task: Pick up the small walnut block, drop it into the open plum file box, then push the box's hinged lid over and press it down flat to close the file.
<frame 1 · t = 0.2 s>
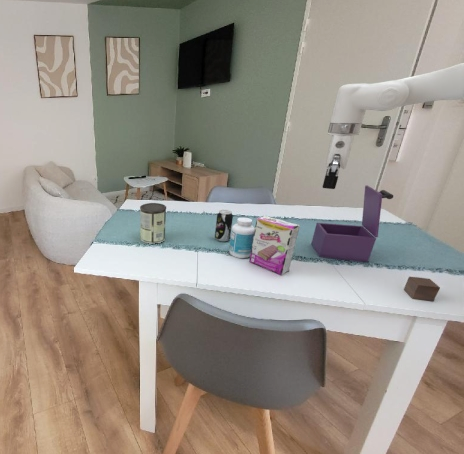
hand: (329, 184, 94), 25 cm above the table, tool pointing down, fingers open, 9 cm apart
file box: (337, 252, 103), on the table
candy bar box: (268, 267, 97), on the table
block: (418, 295, 80), on the table
pill bottle: (239, 254, 105), on the table
beverage can: (222, 239, 117), on the table
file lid: (378, 210, 94), point 17 cm above the table, hinge at 80.0°
coffee can: (152, 239, 121), on the table
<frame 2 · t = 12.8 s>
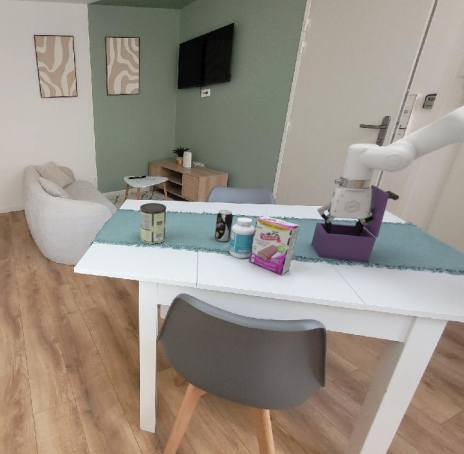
hand: (341, 232, 100), 8 cm above the table, tool pointing down, fingers open, 7 cm apart
block: (333, 250, 103), point 1 cm above the table, touching file box
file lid: (381, 210, 94), point 16 cm above the table, hinge at 86.7°, touching gripper
everything else where it was.
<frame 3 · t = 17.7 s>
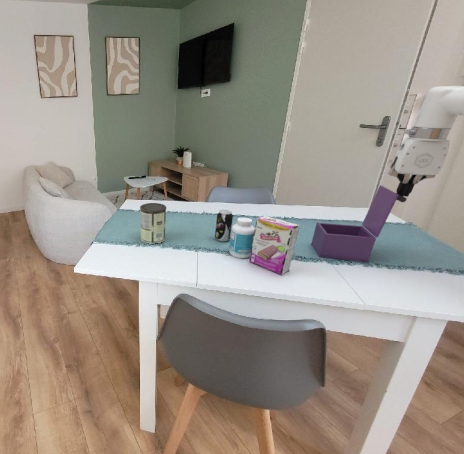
hand: (402, 194, 91), 22 cm above the table, tool pointing down, fingers closed
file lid: (386, 212, 94), point 16 cm above the table, hinge at 95.4°, touching gripper
everything else where it was.
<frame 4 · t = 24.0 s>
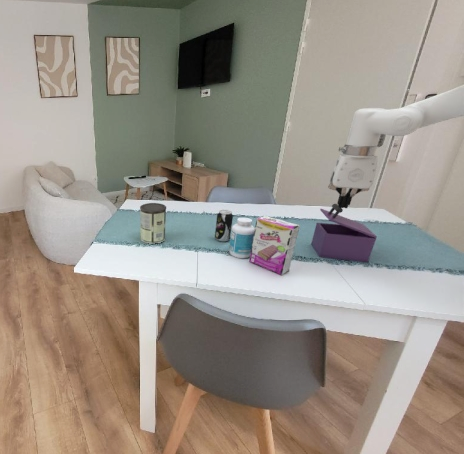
hand: (342, 206, 97), 17 cm above the table, tool pointing down, fingers closed
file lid: (350, 217, 98), point 13 cm above the table, hinge at 19.9°, touching gripper
everything else where it was.
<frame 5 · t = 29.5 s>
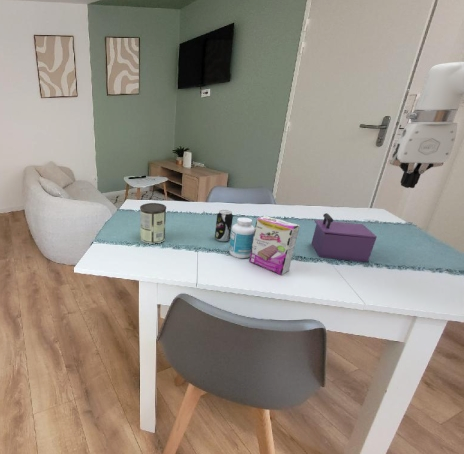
hand: (407, 186, 82), 27 cm above the table, tool pointing down, fingers closed
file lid: (345, 223, 99), point 11 cm above the table, hinge at 1.5°
everything else where it was.
at the end: block inside the target area in the file box (1.4 cm from its centre), point 0.8 cm above the file box's base; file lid at +2° (first picture: +80°) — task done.
